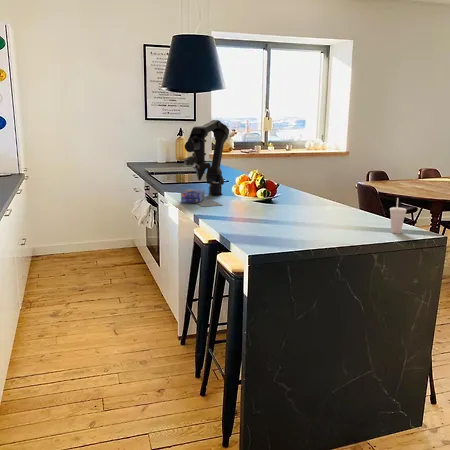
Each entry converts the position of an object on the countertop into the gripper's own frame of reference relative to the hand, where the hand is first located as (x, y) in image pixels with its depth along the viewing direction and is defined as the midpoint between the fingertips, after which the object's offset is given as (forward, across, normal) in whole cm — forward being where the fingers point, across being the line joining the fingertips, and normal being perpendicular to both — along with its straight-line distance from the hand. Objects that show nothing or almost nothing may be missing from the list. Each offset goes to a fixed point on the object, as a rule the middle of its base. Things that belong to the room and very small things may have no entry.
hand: (199, 180), depth 253 cm
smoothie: (+11, +95, +50) cm, 108 cm away
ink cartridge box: (+8, -1, -2) cm, 8 cm away
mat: (+10, +12, 0) cm, 16 cm away
